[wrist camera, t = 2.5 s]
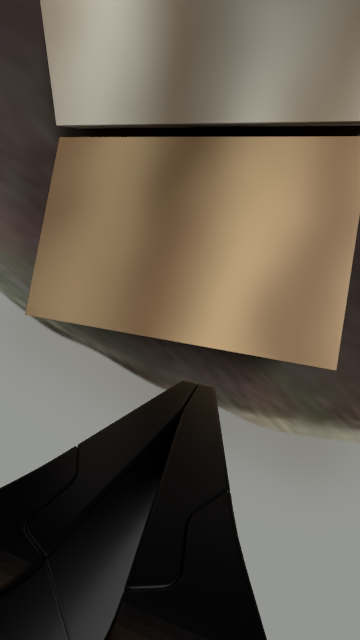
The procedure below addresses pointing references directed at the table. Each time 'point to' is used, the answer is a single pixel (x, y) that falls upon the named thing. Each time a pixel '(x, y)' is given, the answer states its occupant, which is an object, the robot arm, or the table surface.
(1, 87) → the table surface
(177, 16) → the ash board
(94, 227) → the oak plank
